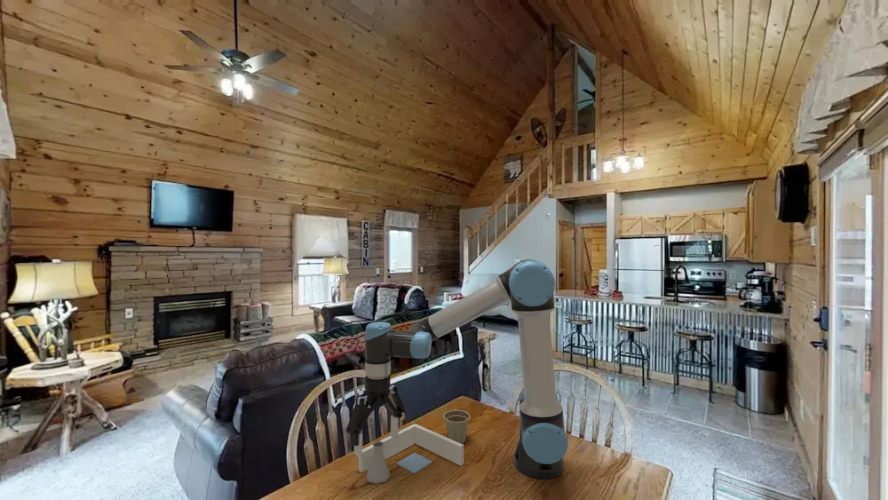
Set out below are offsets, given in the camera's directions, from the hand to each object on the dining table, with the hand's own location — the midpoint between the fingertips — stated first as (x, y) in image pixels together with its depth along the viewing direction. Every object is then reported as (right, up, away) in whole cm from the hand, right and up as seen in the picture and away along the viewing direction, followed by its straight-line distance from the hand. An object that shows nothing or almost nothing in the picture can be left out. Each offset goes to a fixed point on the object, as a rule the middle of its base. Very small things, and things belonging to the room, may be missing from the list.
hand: (377, 446), depth 112 cm
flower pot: (+25, -9, +21) cm, 34 cm away
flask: (0, -9, 0) cm, 9 cm away
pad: (+11, -9, +7) cm, 16 cm away
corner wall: (+10, -9, +5) cm, 14 cm away
